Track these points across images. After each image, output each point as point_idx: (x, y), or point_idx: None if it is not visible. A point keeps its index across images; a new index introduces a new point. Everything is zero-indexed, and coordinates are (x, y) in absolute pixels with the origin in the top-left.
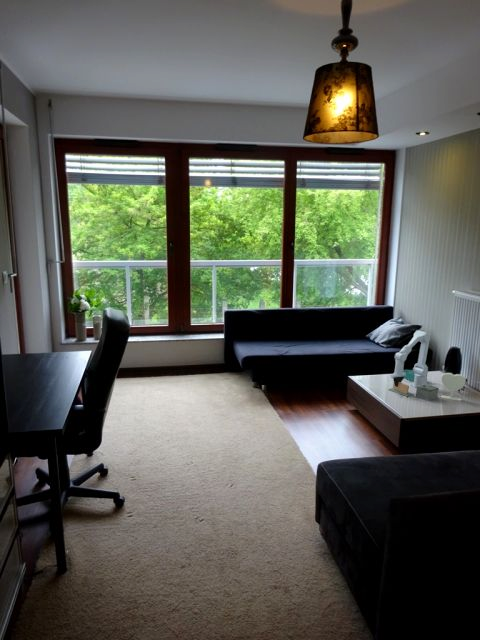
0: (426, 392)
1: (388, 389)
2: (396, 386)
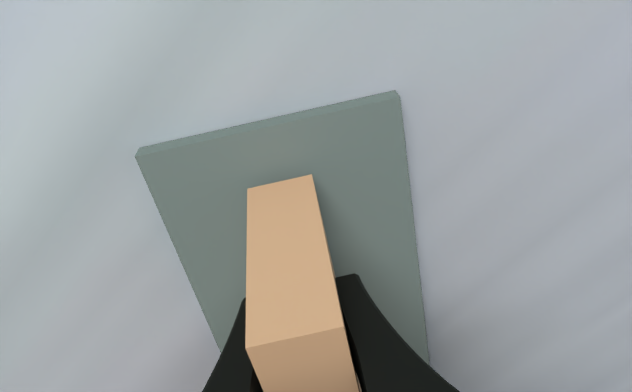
0: None
1: (138, 157)
2: None
